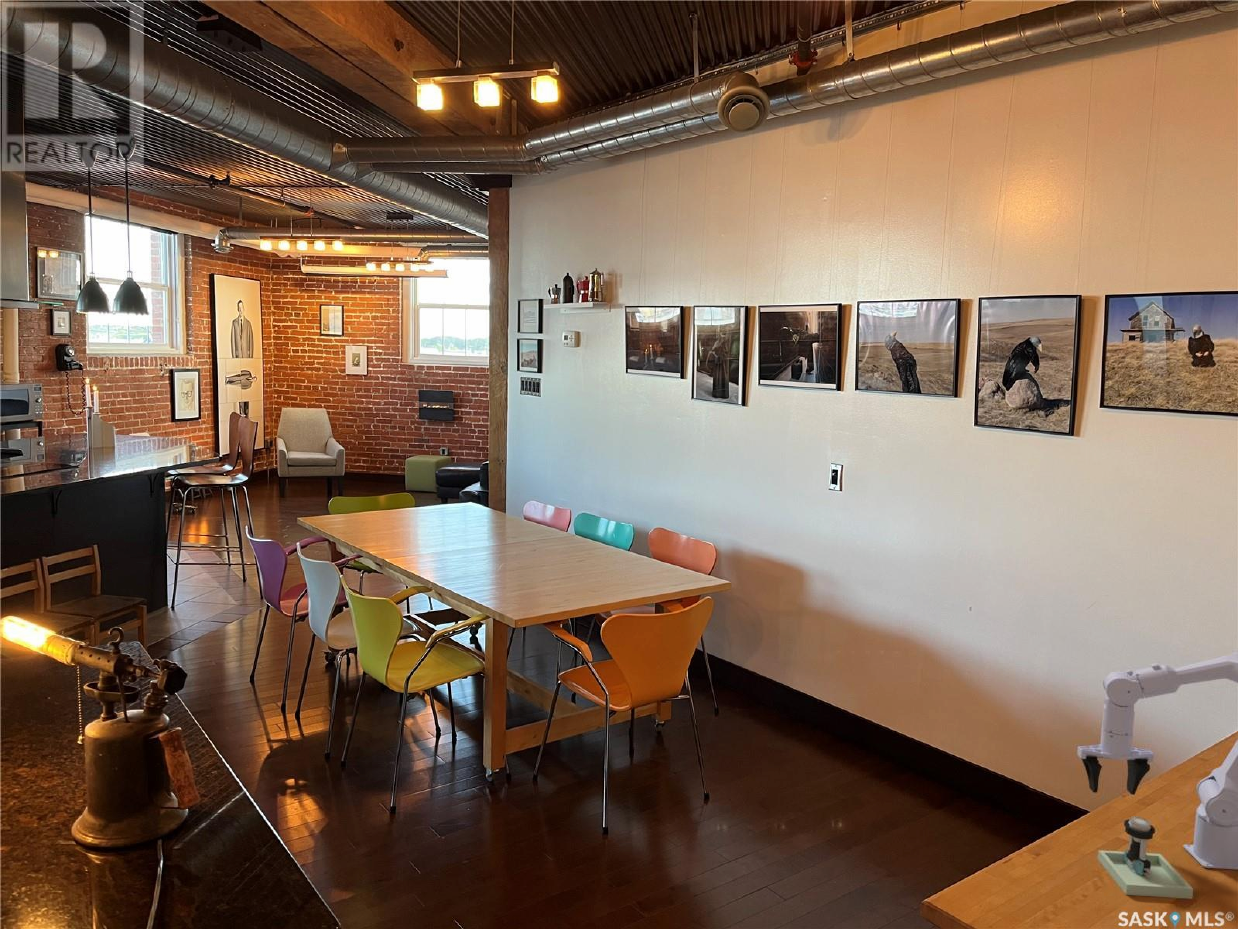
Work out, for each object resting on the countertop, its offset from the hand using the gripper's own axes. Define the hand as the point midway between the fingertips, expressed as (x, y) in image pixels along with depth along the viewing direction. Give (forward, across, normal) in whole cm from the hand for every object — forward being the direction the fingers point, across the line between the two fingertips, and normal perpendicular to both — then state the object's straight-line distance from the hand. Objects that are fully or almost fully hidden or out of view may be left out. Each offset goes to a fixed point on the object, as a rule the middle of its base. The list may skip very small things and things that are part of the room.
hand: (1112, 791), depth 187 cm
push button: (+10, 0, +13) cm, 17 cm away
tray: (+10, 0, +15) cm, 18 cm away
